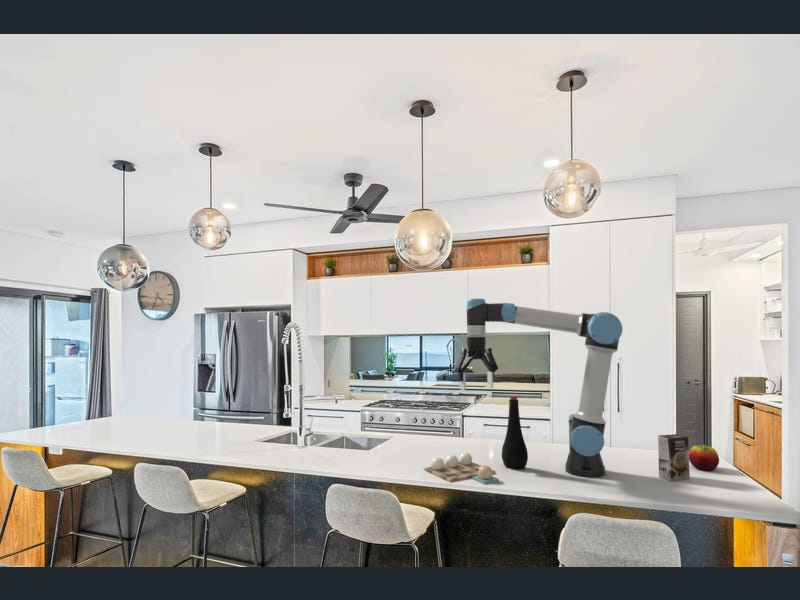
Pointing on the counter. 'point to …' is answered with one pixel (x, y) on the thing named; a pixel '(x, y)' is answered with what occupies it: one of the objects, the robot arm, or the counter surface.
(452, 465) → the cream egg
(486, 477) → the brown egg
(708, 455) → the fruit
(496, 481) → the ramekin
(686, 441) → the coffee box
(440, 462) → the cream egg
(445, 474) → the carton
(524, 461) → the bottle
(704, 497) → the counter surface
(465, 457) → the cream egg
